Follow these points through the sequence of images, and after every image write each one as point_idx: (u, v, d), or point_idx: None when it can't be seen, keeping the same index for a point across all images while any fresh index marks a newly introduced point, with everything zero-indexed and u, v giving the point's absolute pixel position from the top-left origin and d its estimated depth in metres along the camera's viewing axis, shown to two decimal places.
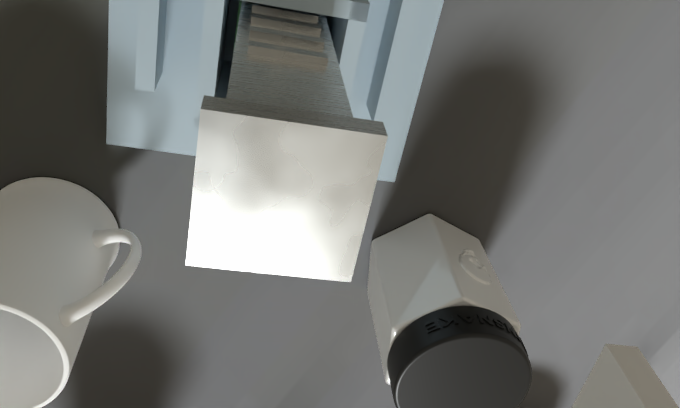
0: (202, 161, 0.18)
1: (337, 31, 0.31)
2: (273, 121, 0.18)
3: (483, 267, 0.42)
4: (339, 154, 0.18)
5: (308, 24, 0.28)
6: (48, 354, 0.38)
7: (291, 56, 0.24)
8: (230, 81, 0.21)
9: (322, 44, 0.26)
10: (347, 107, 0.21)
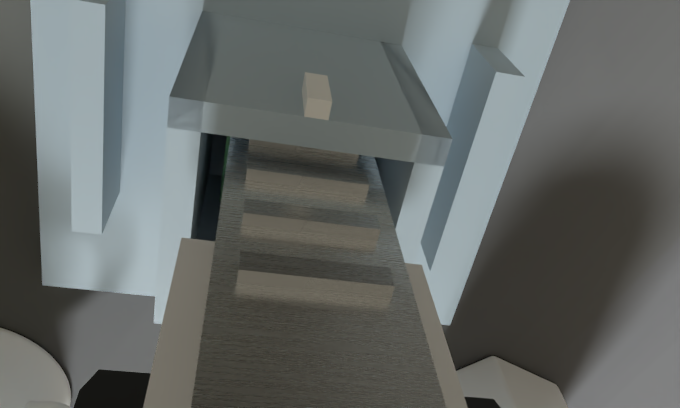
0: None
1: (387, 160, 0.19)
2: None
3: None
4: None
5: (346, 175, 0.16)
6: None
7: (323, 285, 0.12)
8: None
9: (376, 232, 0.14)
10: None
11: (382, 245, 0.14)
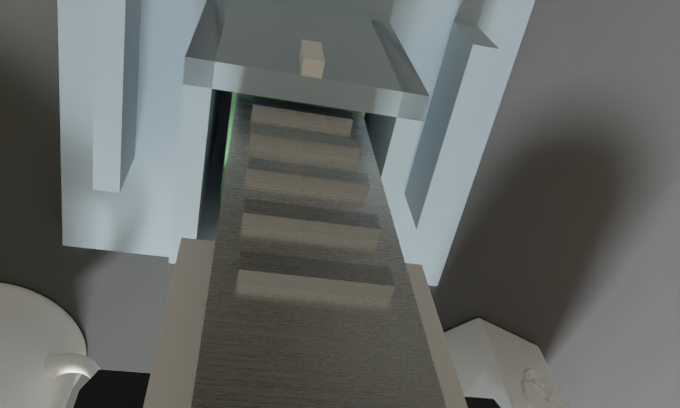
0: None
1: (375, 121, 0.22)
2: None
3: (551, 396, 0.32)
4: None
5: (346, 175, 0.16)
6: None
7: (323, 285, 0.12)
8: None
9: (376, 232, 0.14)
10: None
11: (382, 245, 0.14)
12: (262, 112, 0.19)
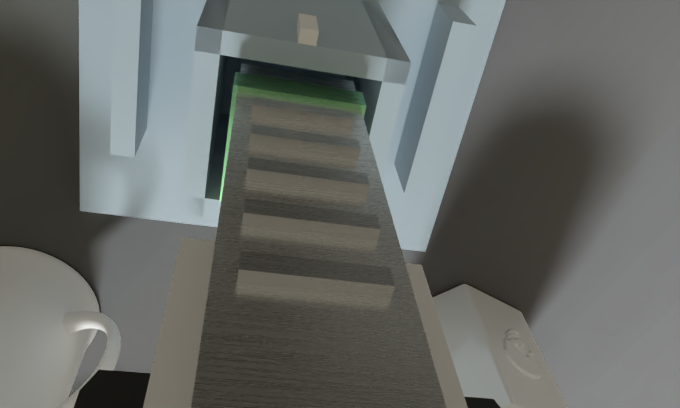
0: None
1: (364, 89, 0.24)
2: None
3: (531, 353, 0.35)
4: None
5: (346, 175, 0.16)
6: None
7: (323, 285, 0.12)
8: None
9: (376, 232, 0.14)
10: None
11: (382, 245, 0.14)
12: (262, 112, 0.19)
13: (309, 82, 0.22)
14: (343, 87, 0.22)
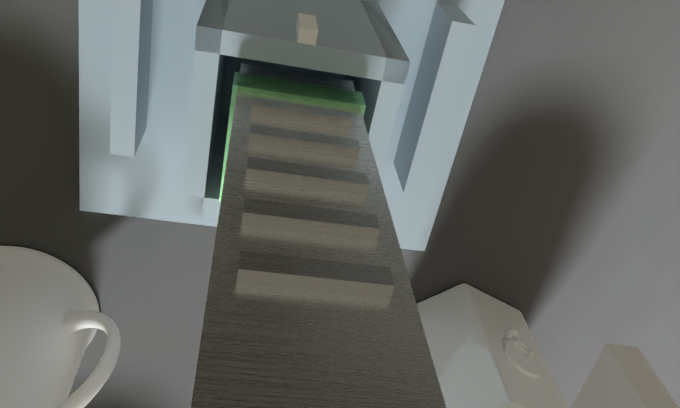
0: None
1: (364, 88, 0.25)
2: None
3: (530, 353, 0.35)
4: None
5: (346, 175, 0.16)
6: None
7: (323, 285, 0.12)
8: None
9: (376, 232, 0.14)
10: None
11: (382, 245, 0.14)
12: (261, 112, 0.19)
13: (309, 82, 0.22)
14: (342, 87, 0.22)
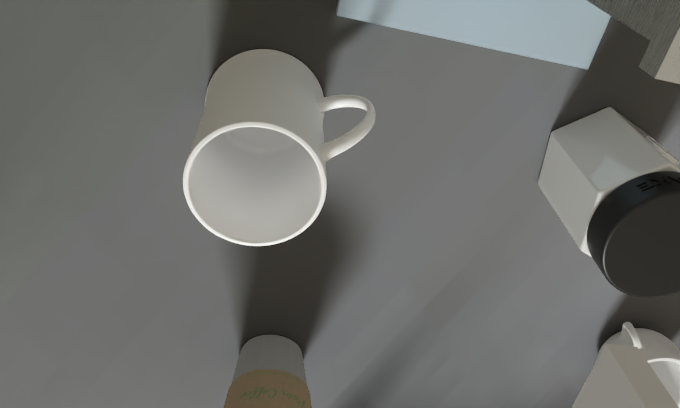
0: None
1: None
2: None
3: (668, 152, 0.45)
4: None
5: None
6: (279, 203, 0.41)
7: None
8: None
9: None
10: None
11: None
12: None
13: None
14: None
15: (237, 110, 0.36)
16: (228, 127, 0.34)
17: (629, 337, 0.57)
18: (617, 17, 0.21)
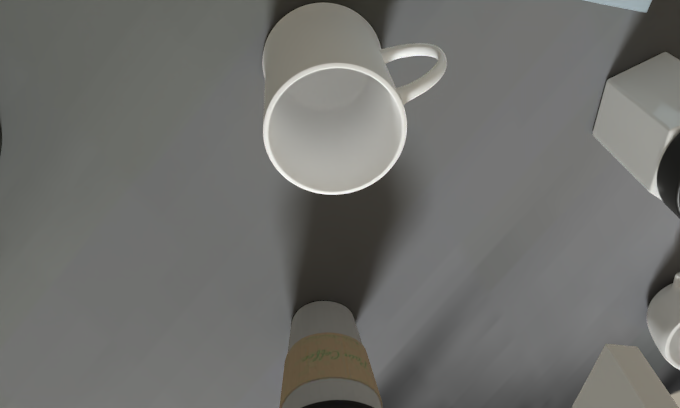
0: None
1: None
2: None
3: None
4: None
5: None
6: (349, 154, 0.41)
7: None
8: None
9: None
10: None
11: None
12: None
13: None
14: None
15: (316, 54, 0.35)
16: (311, 69, 0.34)
17: None
18: None
